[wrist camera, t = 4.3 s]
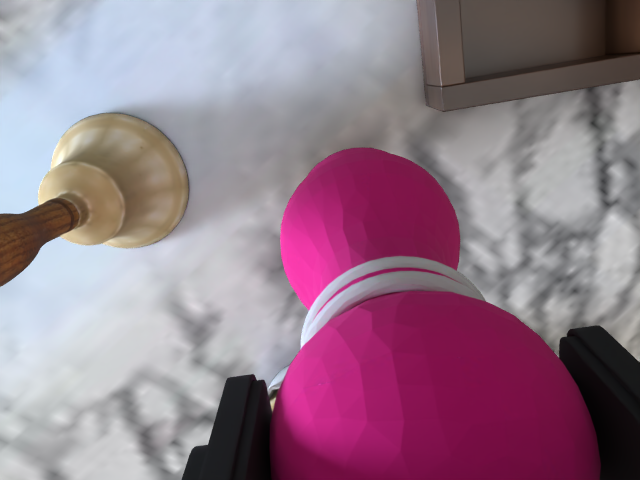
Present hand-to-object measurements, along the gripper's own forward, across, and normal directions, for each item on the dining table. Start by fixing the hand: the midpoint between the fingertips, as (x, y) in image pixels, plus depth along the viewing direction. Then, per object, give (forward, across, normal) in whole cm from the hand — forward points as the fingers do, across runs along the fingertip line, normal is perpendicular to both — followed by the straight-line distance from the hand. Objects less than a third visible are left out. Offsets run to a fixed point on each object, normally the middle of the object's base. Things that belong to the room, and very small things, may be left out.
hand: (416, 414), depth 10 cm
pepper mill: (+15, 0, 0) cm, 15 cm away
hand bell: (+21, +14, -2) cm, 26 cm away
